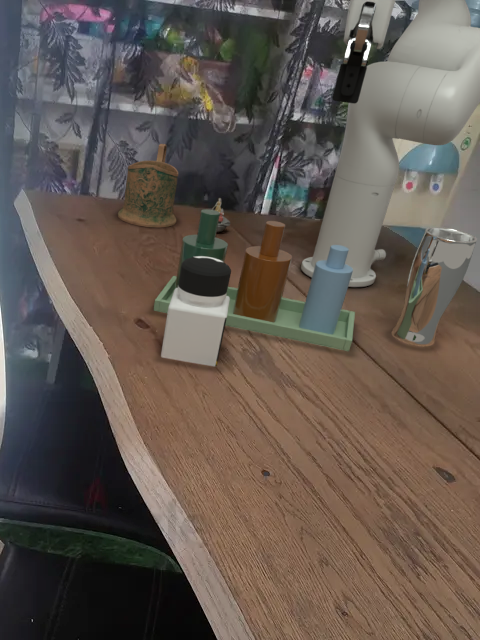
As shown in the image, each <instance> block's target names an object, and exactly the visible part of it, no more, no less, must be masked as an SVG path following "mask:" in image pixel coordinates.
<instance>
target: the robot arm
mask: <svg viewBox="0 0 480 640" xmlns="http://www.w3.org/2000/svg"><path fill="white" fill-rule="evenodd" d="M395 3H396V0H349V4H348V9H347V15H346V21H345V28H344V35H343V43H344V44H345V45H346V50H345V53H344V57H343V60H342V63H340V66H339V69H338V74H337V78H336V82H335V86H334V90H333V94H332V100H333V102H341V103H347V105H348V106H347V113H346V121H345V128H344V136H343V139H342V145H341V146H342V147H341V150H340V153H339V158H338V161H337V166H336V170H335V173H334V177H333V180H332V183H331V187H330V191H329V195H328V198H327V203H326V206H325V209H324V214H323V218H322V221H321V225H320V228H319V232H318V236H317V239H316V243H315V247H314V251H313V255H312V256H310V257H306V258H304V259H303V260H302V262H301V265H300V270H301V271H302V273H303V274H304V275H306V276H308V277H309V278H311V279H312V276H313V272H314V268H315V265H316V262H318V261H322V260H327V258H328V254H329V251H330V247H331V246H332V245H341V246H344V247H347V248H348V249H349V251H348V254H347V258H346V261H345V264H346V265H348V266H350V267H352V269H353V272H352V276H351V279H350V282H349V285H348V288H363V287H367V286H371V285H372V284H374V283H375V282H376V277H377V275H376V272H375V271H374V270H373V269H372V264H374V263H375V262H381V261H384V260H385V258H386V256H387V253H386V250H385V249H383V248H379V249H376V247H377V243H378V240H379V236H380V233H381V230H382V228H383V224H384V221H385V218H386V214H387V211H388V209H389V206H390V202H391V200H392V199H391V198H392V195H393V192H394V189H395V186H396V183H397V180H398V177H399V174H400V173H399V172H400V160H399V155H398V152H397V150H396V146H395V143H394V140H393V139H395V140H396V139H397V140H405V141H410V142H415V143H420V144H425V145H429V146H445V145H447V144H449V143H451V142H452V141H454V140H455V139H456V138H457V137H458V135H459V134H460V133H461V131H462V130H463V129H464V127H465V125H466V124H467V122H468V121H469V120H470V118H471V117H472V115H473V114H474V112H475V111H476V109H477V108H478V106H479V104H480V27H475V26H471V25H472V18H471V12H470V9H469V6H468V4H467V1H466V0H418V8H417V13H416V15H415V16H414V18H413V19H412V20H411V22H410V23H409V24H408V26H407V27H406V29H405V30H404V31H403V33H402V34H401V35H400V36H399V38H398V40H397V41H396V42H395V44H394V45H393V47H392V49H391V51H390V53H389V55H388V57H387V61H386V60H385V61H378V62H373V63H370V64H368V63H369V60H368V58H369V54H370V50H371V48H372V44H373V43H376V49H377V50H380V49H381V48H383V46H384V44H385V40H386V35H387V33H388V29H389V25H390V21H391V17H392V13H393V12H394V11H393V10H394V7H395Z"/></svg>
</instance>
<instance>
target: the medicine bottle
mask: <svg viewBox="0 0 480 640" xmlns="http://www.w3.org/2000/svg"><path fill="white" fill-rule="evenodd" d="M231 274H232V269H231V267H230V265H228V264H227V263H224V262H223V261H221V260H219V259H216V258H212V257H205V256H196V257H192V258H188V259H186V260H185V261H183V262H182V265H181V271H180V277H179V283H178V288H176V289H175V290H174V293H173V296H172V299H171V302H170V304H169V307H168V313H166V321H165V326H164V333H163V339H162V345H161V352H160V357H161V358H163V359H169V360H175V361H180V362H185V363H191V364H197V365H203V366H208V367H209V366H210V367H217V366H218V362H219V358H220V352H221V348H222V344H223V343H222V342H223V337H224V334H225V333H224V332H225V329H226V325H225V324H226V319H227V313H228V307H229V301H230V298H229V296H226V294H227V290H228V287H229V285H230V279H231Z"/></svg>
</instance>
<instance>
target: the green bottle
mask: <svg viewBox="0 0 480 640" xmlns="http://www.w3.org/2000/svg"><path fill="white" fill-rule="evenodd" d="M219 216H220V213H219V212H218V211H215V209H213V210H212V209H209V208H208V209H206V208H205V209H201V211H200V216H199V222H198V225H197V226H198V227H197V233H196V234H188V235H185V236H183V237H182V241H181V246H180V253H179V260H178V266H177V272H176V276H177V277H176V284H175V289H176V288H178V283H179V277H180V271H181V265H182V262H183V261H185V260H186V259H188V258H192V257H196V256H205V257H212V258H216V259H219V260H221V261H223V262H224V263H225V262H226V258H227V257H226V256H227V253H228V252H227V251H228V247H229V244H228V242H227V241H225V240H224V239H221V238H218V237H217V233H218V232H217V227H218V221H219Z"/></svg>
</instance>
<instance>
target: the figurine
mask: <svg viewBox="0 0 480 640" xmlns="http://www.w3.org/2000/svg"><path fill="white" fill-rule="evenodd" d="M221 206H222V198H221V197H218V199H217V201H216V203H215V205H214V206H213V208H212V209H211V210H215V211H218V212H219V213H220V216H219V221H218V227H217V232H216V233H219V232H221V233H222V232H223V231H224V230H225V229H227V227H230V225H231V221H230V220H229V219H228V218H226V217H225V216H224V215H225V213H224V212H225V211H224V208H222V207H221ZM214 208H215V209H214Z"/></svg>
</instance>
